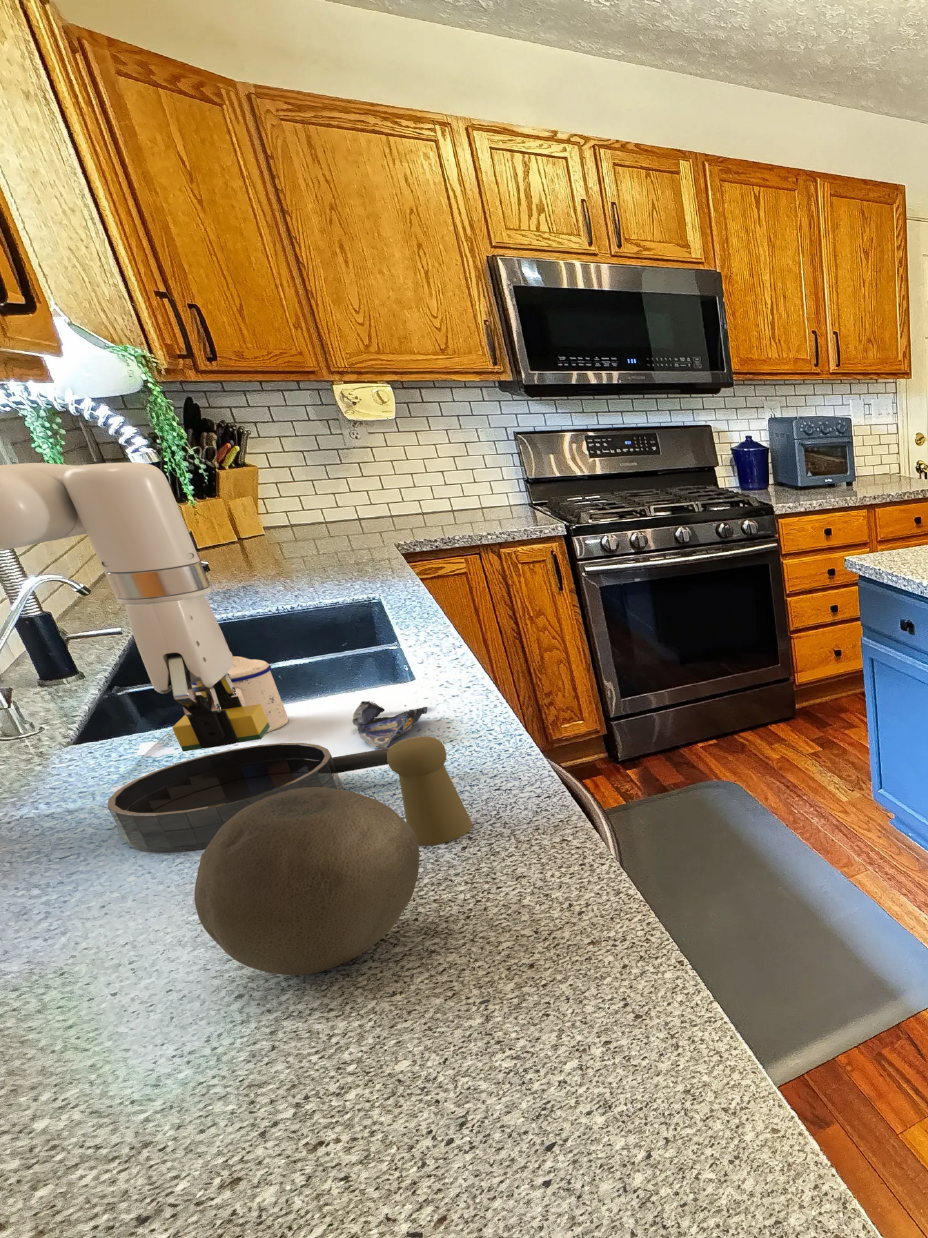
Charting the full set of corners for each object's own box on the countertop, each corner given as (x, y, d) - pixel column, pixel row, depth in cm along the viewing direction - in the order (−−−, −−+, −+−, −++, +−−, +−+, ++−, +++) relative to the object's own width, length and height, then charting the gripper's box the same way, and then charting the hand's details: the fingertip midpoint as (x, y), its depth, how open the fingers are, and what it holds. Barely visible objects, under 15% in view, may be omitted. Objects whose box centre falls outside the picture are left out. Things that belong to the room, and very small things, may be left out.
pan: (95, 870, 82) (74, 832, 80) (159, 796, 98) (144, 762, 96) (327, 824, 91) (313, 789, 89) (353, 763, 106) (342, 732, 104)
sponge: (182, 751, 91) (171, 727, 90) (195, 738, 95) (184, 714, 94) (261, 739, 94) (251, 715, 93) (270, 726, 98) (260, 703, 97)
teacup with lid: (209, 727, 118) (177, 651, 113) (288, 712, 124) (260, 639, 119) (211, 751, 110) (176, 671, 105) (295, 734, 116) (266, 656, 111)
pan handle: (327, 777, 96) (321, 762, 96) (329, 771, 98) (324, 756, 97) (444, 756, 102) (439, 742, 101) (445, 751, 103) (440, 737, 103)
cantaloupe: (311, 1028, 61) (237, 859, 55) (196, 986, 66) (116, 825, 60) (477, 923, 73) (431, 775, 67) (370, 894, 78) (318, 753, 72)
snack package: (318, 753, 110) (402, 750, 109) (307, 707, 108) (392, 704, 108) (384, 733, 121) (460, 731, 121) (375, 691, 120) (452, 689, 119)
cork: (464, 813, 93) (438, 725, 89) (479, 831, 89) (452, 740, 85) (403, 831, 89) (372, 741, 85) (415, 851, 85) (383, 757, 81)
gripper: (142, 573, 92) (206, 721, 100) (80, 603, 79) (159, 771, 86) (227, 566, 96) (283, 709, 103) (181, 593, 82) (249, 756, 89)
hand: (226, 736), depth 94 cm, fingers closed on sponge, 4 cm apart
